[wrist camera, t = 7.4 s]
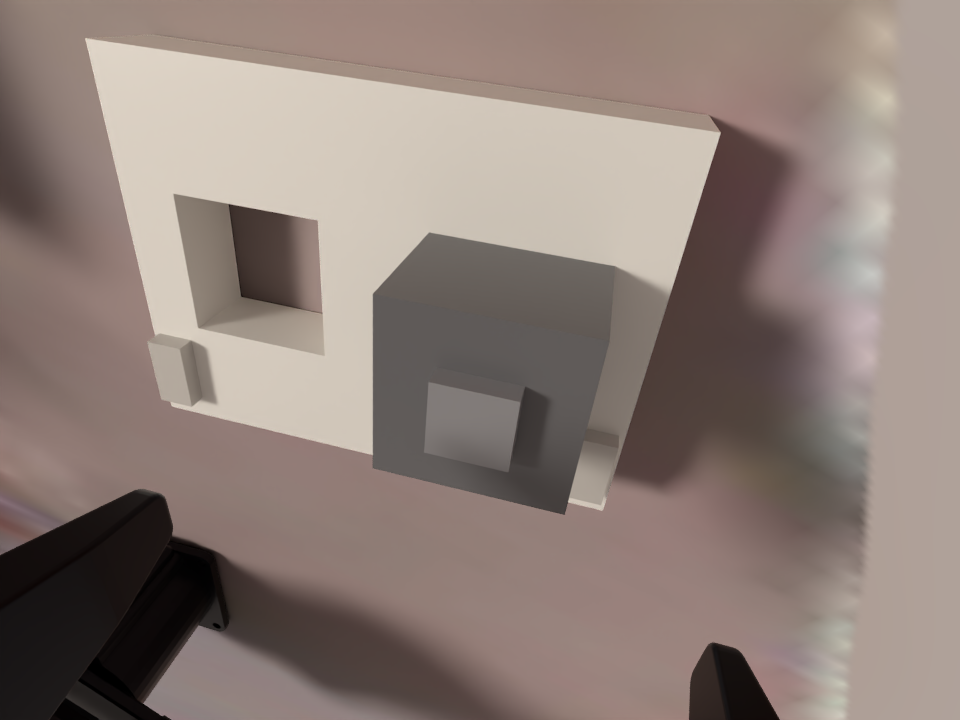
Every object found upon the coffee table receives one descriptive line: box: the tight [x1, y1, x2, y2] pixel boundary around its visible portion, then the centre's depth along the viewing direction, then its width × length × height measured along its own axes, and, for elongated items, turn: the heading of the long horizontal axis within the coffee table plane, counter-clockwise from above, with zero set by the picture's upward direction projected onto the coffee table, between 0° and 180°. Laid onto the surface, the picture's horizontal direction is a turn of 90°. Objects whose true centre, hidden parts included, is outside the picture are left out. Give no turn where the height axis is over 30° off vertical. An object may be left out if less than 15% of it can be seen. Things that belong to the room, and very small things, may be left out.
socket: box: [85, 35, 721, 511], centre depth 18 cm, size 12×16×3 cm
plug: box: [373, 232, 615, 515], centre depth 16 cm, size 5×5×7 cm
